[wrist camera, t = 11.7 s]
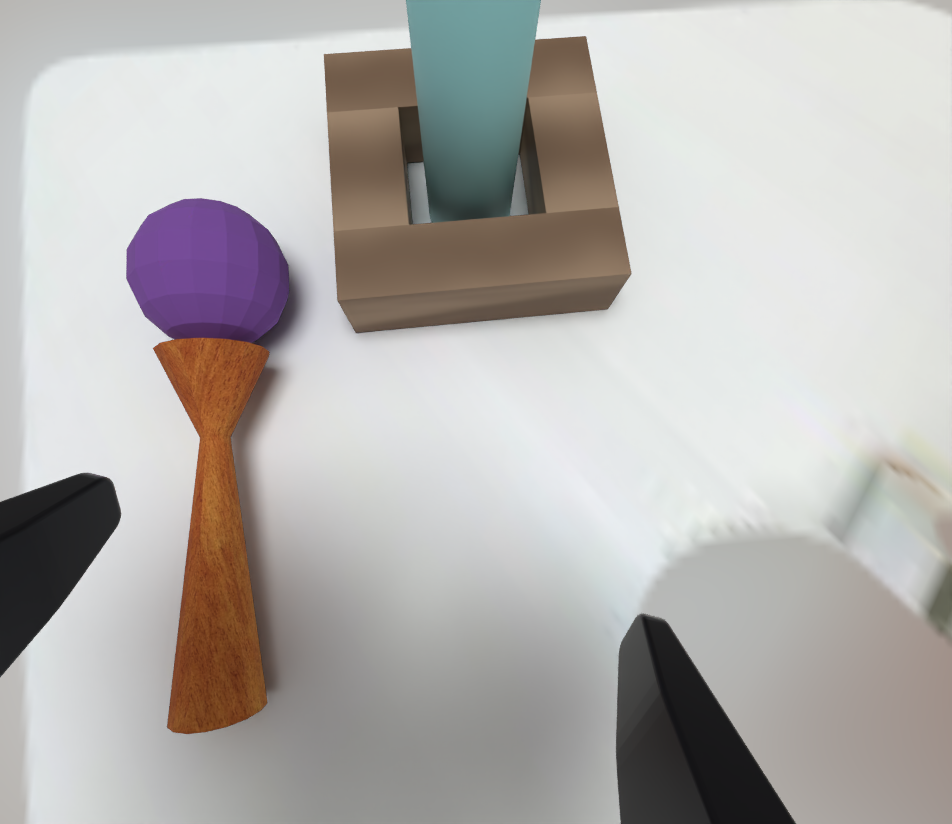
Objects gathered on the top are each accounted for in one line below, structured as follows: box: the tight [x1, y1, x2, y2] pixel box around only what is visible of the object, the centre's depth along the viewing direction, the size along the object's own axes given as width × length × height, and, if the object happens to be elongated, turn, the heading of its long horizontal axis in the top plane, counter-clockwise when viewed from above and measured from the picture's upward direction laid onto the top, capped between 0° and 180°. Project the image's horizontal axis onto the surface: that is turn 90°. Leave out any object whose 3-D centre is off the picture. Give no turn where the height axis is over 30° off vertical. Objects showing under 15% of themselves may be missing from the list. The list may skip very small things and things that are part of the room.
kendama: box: [126, 198, 289, 734], centre depth 20 cm, size 6×6×20 cm
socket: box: [324, 36, 631, 333], centre depth 23 cm, size 12×12×4 cm
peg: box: [406, 0, 541, 223], centre depth 18 cm, size 4×4×14 cm
